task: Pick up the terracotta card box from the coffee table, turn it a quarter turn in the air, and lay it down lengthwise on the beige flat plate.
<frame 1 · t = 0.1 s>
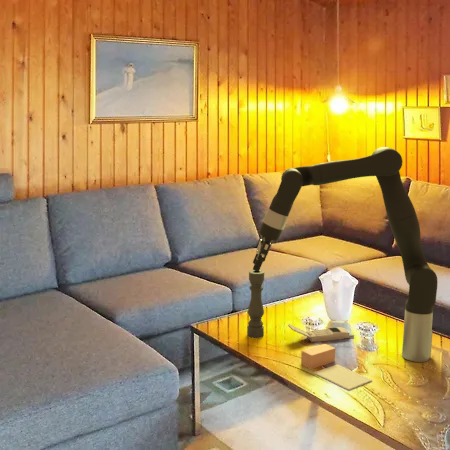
hand: (255, 267, 216), 31 cm above the table, tool tilted 20°, fingers open, 8 cm apart
card box: (317, 363, 215), on the table
candle holder: (255, 335, 239), on the table
mobile phone: (320, 339, 236), on the table
beige flat plate: (342, 377, 203), on the table
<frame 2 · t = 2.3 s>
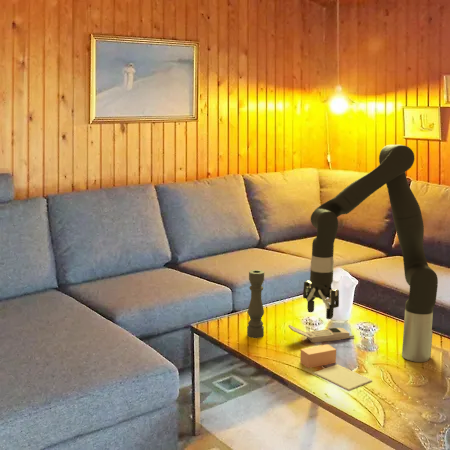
hand: (319, 315, 211), 17 cm above the table, tool pointing down, fingers open, 8 cm apart
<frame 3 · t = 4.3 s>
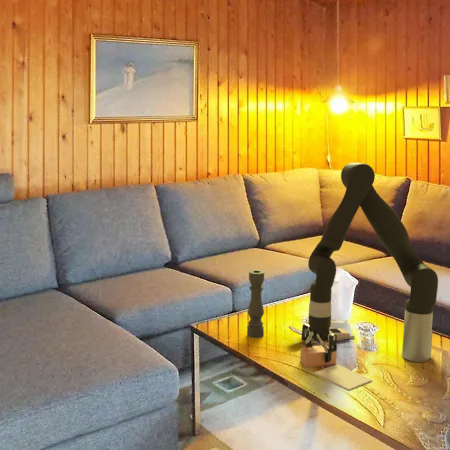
hand: (318, 358, 214), 2 cm above the table, tool pointing down, fingers open, 8 cm apart
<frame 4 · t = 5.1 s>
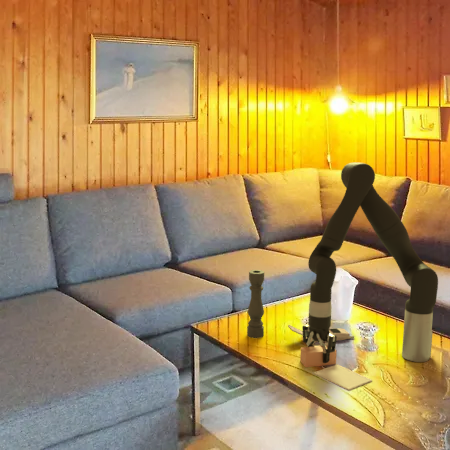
hand: (318, 359, 214), 1 cm above the table, tool pointing down, fingers closed on card box, 6 cm apart
card box: (318, 362, 214), on the table, touching gripper
everything else where it was.
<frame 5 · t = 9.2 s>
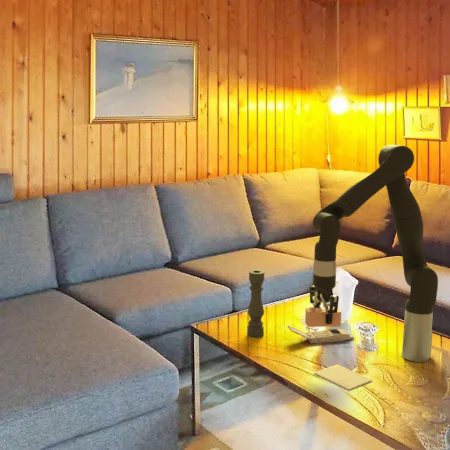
hand: (322, 320, 210), 15 cm above the table, tool pointing down, fingers closed on card box, 6 cm apart
card box: (322, 323, 211), point 14 cm above the table, touching gripper
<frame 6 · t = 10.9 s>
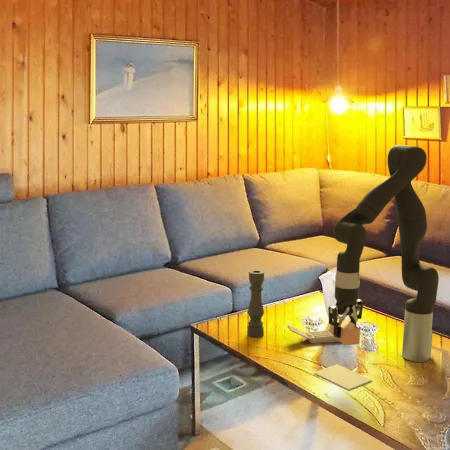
hand: (344, 334, 200), 15 cm above the table, tool pointing down, fingers closed on card box, 6 cm apart
card box: (344, 338, 201), point 13 cm above the table, touching gripper
when the fingers open (3 cm above the table, at t = 14.0 s): card box drops 1 cm, resting on beige flat plate.
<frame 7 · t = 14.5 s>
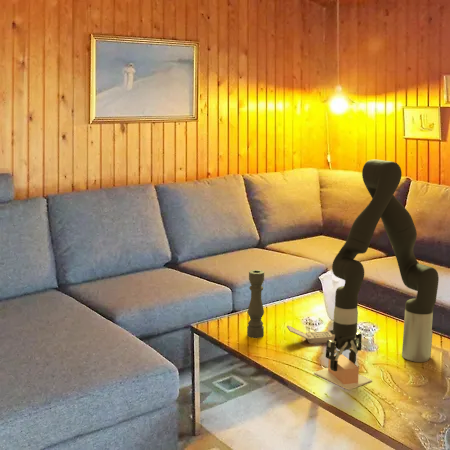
hand: (343, 367, 202), 3 cm above the table, tool pointing down, fingers open, 8 cm apart
card box: (342, 376, 203), resting on beige flat plate
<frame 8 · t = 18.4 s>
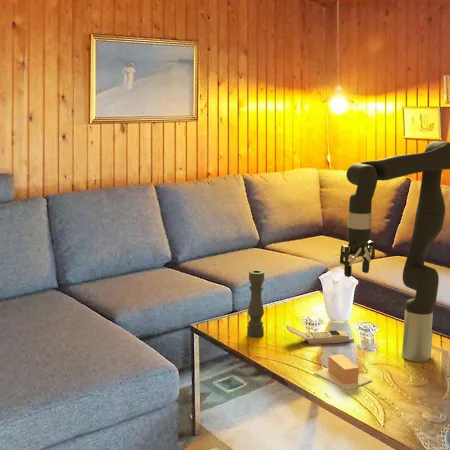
hand: (356, 274, 205), 32 cm above the table, tool pointing down, fingers open, 8 cm apart
at the end: card box inside the target area on the beige flat plate (0.0 cm from its centre), point 0.4 cm above the beige flat plate's base; card box tilted 0°; the gripper is holding nothing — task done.
